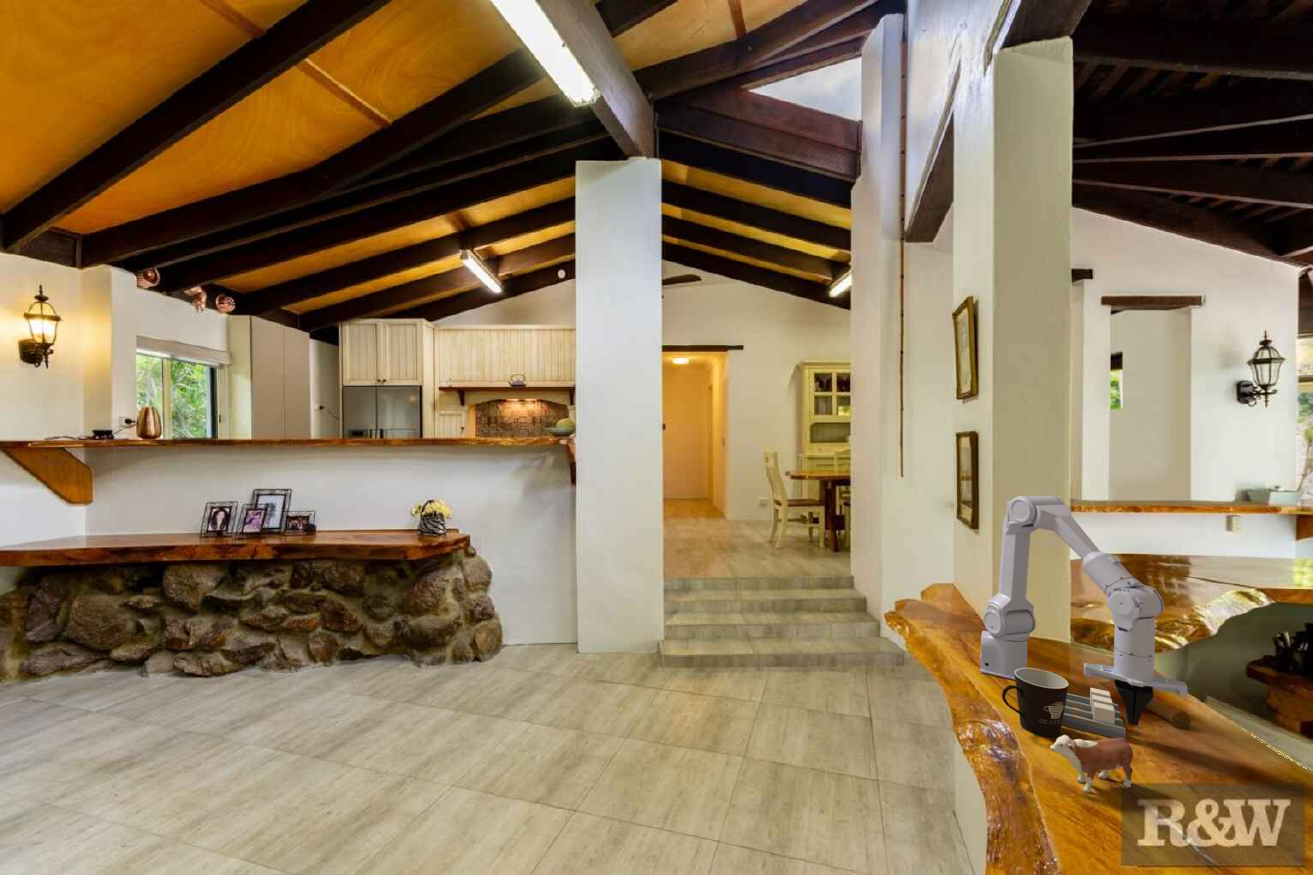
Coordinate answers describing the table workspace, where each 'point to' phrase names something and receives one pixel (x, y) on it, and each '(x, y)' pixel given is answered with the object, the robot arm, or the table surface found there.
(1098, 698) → the tab
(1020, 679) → the coffee mug
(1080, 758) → the bull figurine
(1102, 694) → the tab
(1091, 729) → the switch board
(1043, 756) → the table surface
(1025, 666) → the robot arm
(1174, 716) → the primitive tool
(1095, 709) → the tab
